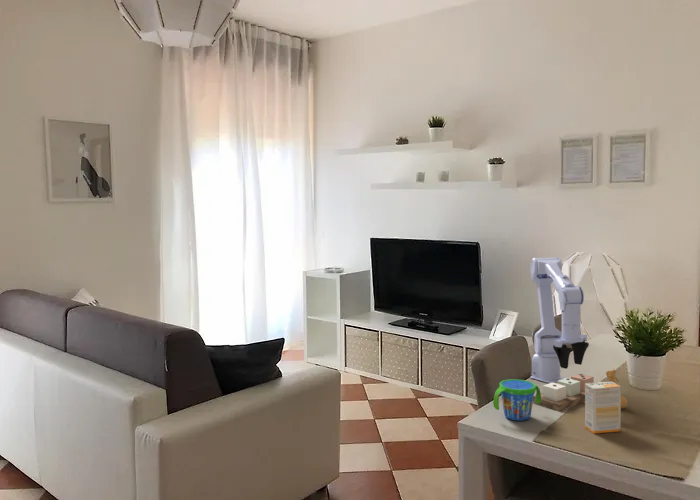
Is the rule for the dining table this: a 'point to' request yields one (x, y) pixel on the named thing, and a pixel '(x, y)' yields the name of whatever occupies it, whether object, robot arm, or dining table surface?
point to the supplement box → (602, 407)
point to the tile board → (562, 401)
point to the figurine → (612, 379)
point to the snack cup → (517, 398)
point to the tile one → (554, 391)
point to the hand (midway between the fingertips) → (571, 366)
